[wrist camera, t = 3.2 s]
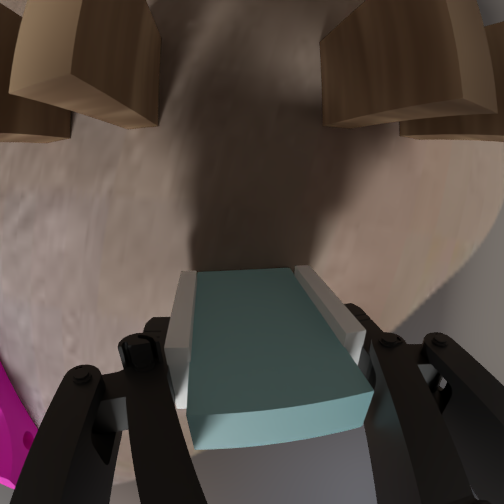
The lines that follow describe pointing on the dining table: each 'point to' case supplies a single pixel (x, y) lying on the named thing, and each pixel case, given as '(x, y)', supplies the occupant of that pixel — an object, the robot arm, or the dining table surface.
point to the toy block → (13, 432)
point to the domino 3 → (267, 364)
